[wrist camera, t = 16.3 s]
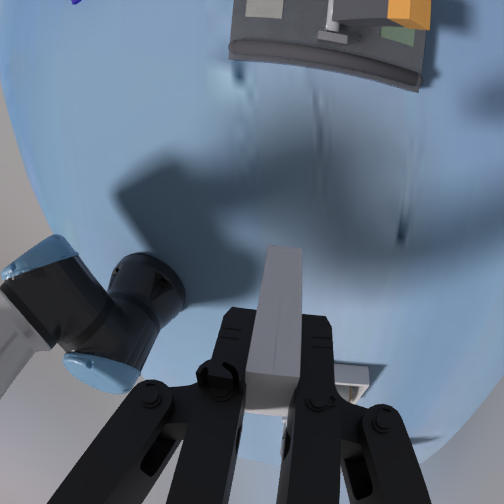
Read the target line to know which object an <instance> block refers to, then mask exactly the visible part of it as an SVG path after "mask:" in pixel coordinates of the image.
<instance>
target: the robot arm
mask: <svg viewBox="0 0 504 504" xmlns="http://www.w3.org/2000/svg"><path fill="white" fill-rule="evenodd" d="M1 276H2V280H5V282H4V283H3V284H2V285H1V286H0V399H1V398H2V396H3V395H4V393H5V392H6V391H7V389H8V388H9V386H10V385H11V384H12V382H13V381H14V379H15V378H16V377H17V376H18V374H19V373H20V372H21V370H22V369H23V368H24V366H25V365H26V364H27V362H28V361H29V360H30V359H31V357H32V356H33V355H34V354H35V352H38V351H50V350H51V349H52V348H53V347H54V346H55V345H56V343H58V344H59V345H60V346H61V347H62V348H63V349H64V350H65V352H66V353H65V354H64V356H63V364H64V366H65V367H66V369H67V370H68V371H69V372H70V373H71V374H72V375H73V376H75V377H76V378H78V379H79V380H81V381H82V382H84V383H86V384H88V385H89V386H92V387H93V388H96V389H98V390H101V391H104V392H107V393H112V394H124V393H127V392H129V391H130V390H131V389H132V387H133V386H134V384H135V382H136V380H137V379H138V377H139V376H140V375H141V370H142V368H143V366H144V364H145V361H146V359H147V357H148V355H149V353H150V351H151V349H152V346H153V344H154V342H155V340H156V338H157V336H158V334H159V332H160V330H161V329H162V328H163V327H164V326H166V325H167V324H168V323H169V322H170V321H171V320H172V319H173V318H175V317H176V316H177V315H178V313H179V312H180V310H181V308H182V306H183V304H184V301H185V291H184V287H183V285H182V283H181V281H180V279H179V278H178V276H177V275H176V274H175V273H174V272H173V270H171V269H170V268H169V267H168V266H167V265H165V264H164V263H163V262H161V261H159V260H157V259H155V258H153V257H150V256H147V255H142V254H132V255H128V256H126V257H124V258H123V259H122V260H121V261H120V262H119V263H118V264H117V266H116V267H115V268H114V270H113V272H112V275H111V279H110V283H109V286H108V290H107V292H106V291H105V290H104V288H103V287H102V286H101V285H100V283H99V282H98V281H97V280H96V278H95V277H94V276H93V274H92V273H91V272H90V271H89V269H88V268H87V267H86V265H85V264H84V262H83V261H82V260H81V258H80V257H79V254H78V252H75V250H74V249H73V248H72V247H71V245H70V244H69V243H68V242H67V240H66V239H65V238H64V237H63V236H61V235H58V234H54V235H51V236H49V237H48V238H46V239H44V240H43V241H41V242H40V243H38V244H37V245H35V246H34V247H33V248H31V249H30V250H28V251H27V252H26V253H24V254H23V255H21V256H20V257H19V258H17V259H16V260H15V261H14V262H12V263H11V264H10V265H8V266H7V267H6V268H4V269H3V270H2V272H1ZM196 377H197V381H198V382H197V383H194V384H192V385H188V386H179V387H168V386H167V385H166V384H164V383H163V382H161V381H158V380H145V381H142V382H140V383H138V384H137V385H136V386H135V387H134V388H133V389H132V390H131V391H130V393H129V394H128V395H127V397H126V398H125V399H124V401H123V402H122V403H121V405H120V406H119V407H118V409H117V410H116V411H115V413H114V414H113V415H112V417H111V418H110V419H109V420H108V422H107V423H106V424H105V426H104V427H103V428H102V430H101V431H100V432H99V434H98V435H97V437H96V438H95V439H94V440H93V442H92V443H91V444H90V446H89V447H88V448H87V450H86V451H85V452H84V454H83V455H82V456H81V458H80V459H79V460H78V462H77V463H76V465H75V466H74V467H73V469H72V470H71V471H70V473H69V474H68V475H67V477H66V478H65V479H64V481H63V482H62V483H61V485H60V486H59V488H58V489H57V490H56V492H55V493H54V495H53V496H52V497H51V499H50V500H49V501H48V503H47V504H142V502H143V501H144V499H145V498H146V496H147V495H148V493H149V491H150V490H151V489H152V487H153V485H154V484H155V482H156V481H157V479H158V478H159V476H160V474H161V473H162V471H163V469H164V468H165V466H166V465H167V463H168V461H169V460H170V458H171V457H172V455H173V454H174V452H175V450H176V449H177V447H178V446H179V444H180V442H181V440H184V441H183V444H182V448H181V451H180V455H179V458H178V462H177V465H176V469H175V472H174V476H173V480H172V483H171V487H170V491H169V494H168V498H167V502H166V504H228V501H229V496H230V491H231V486H232V481H233V475H234V470H235V465H236V459H237V454H238V448H239V443H240V437H241V432H242V422H243V416H244V412H248V413H256V414H264V415H273V416H284V417H287V415H288V419H287V427H286V429H285V432H284V435H283V438H282V439H284V444H283V453H282V462H281V471H280V478H279V486H278V494H277V501H276V504H339V496H340V495H339V494H340V468H342V472H343V476H344V480H345V484H346V488H347V492H348V496H349V501H350V504H432V503H431V500H430V497H429V494H428V490H427V487H426V484H425V481H424V478H423V475H422V472H421V469H420V467H419V463H418V461H417V458H416V455H415V452H414V449H413V447H412V444H411V441H410V438H409V436H408V433H407V431H406V428H405V425H404V423H403V420H402V418H401V416H400V414H399V413H398V411H397V410H396V409H394V408H393V407H392V406H389V405H385V404H377V405H374V406H372V407H370V408H369V409H367V408H364V407H361V406H358V405H355V404H352V403H350V402H348V401H346V400H345V399H343V398H342V397H341V396H340V394H339V393H338V391H337V389H336V386H335V376H334V355H333V340H332V326H331V325H330V323H329V321H328V320H327V318H326V316H318V315H307V314H302V248H295V247H285V246H276V245H268V250H267V255H266V261H265V267H264V273H263V278H262V284H261V289H260V295H259V301H258V306H257V310H253V309H245V308H237V307H231V309H230V310H229V311H228V312H227V313H226V314H225V315H224V317H223V320H222V324H221V328H220V331H219V334H218V338H217V341H216V344H215V348H214V351H213V355H212V358H211V359H210V360H207V361H205V362H204V363H203V364H201V365H200V366H199V368H198V370H197V371H196Z"/></svg>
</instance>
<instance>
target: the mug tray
mask: <svg viewBox="0 0 504 504" xmlns="http://www.w3.org/2000/svg"><path fill="white" fill-rule="evenodd" d="M334 376H335V384H337V385H350V386H352V397H351V401H350V403H352V404H356V402H357V401H358V400H359V398H360V397H361V396H362V395H363V393H364V392H365V391H366V389H367V388H368V387H369V385H370V380H369V370H368V366H356V365H345V364H334Z"/></svg>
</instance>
